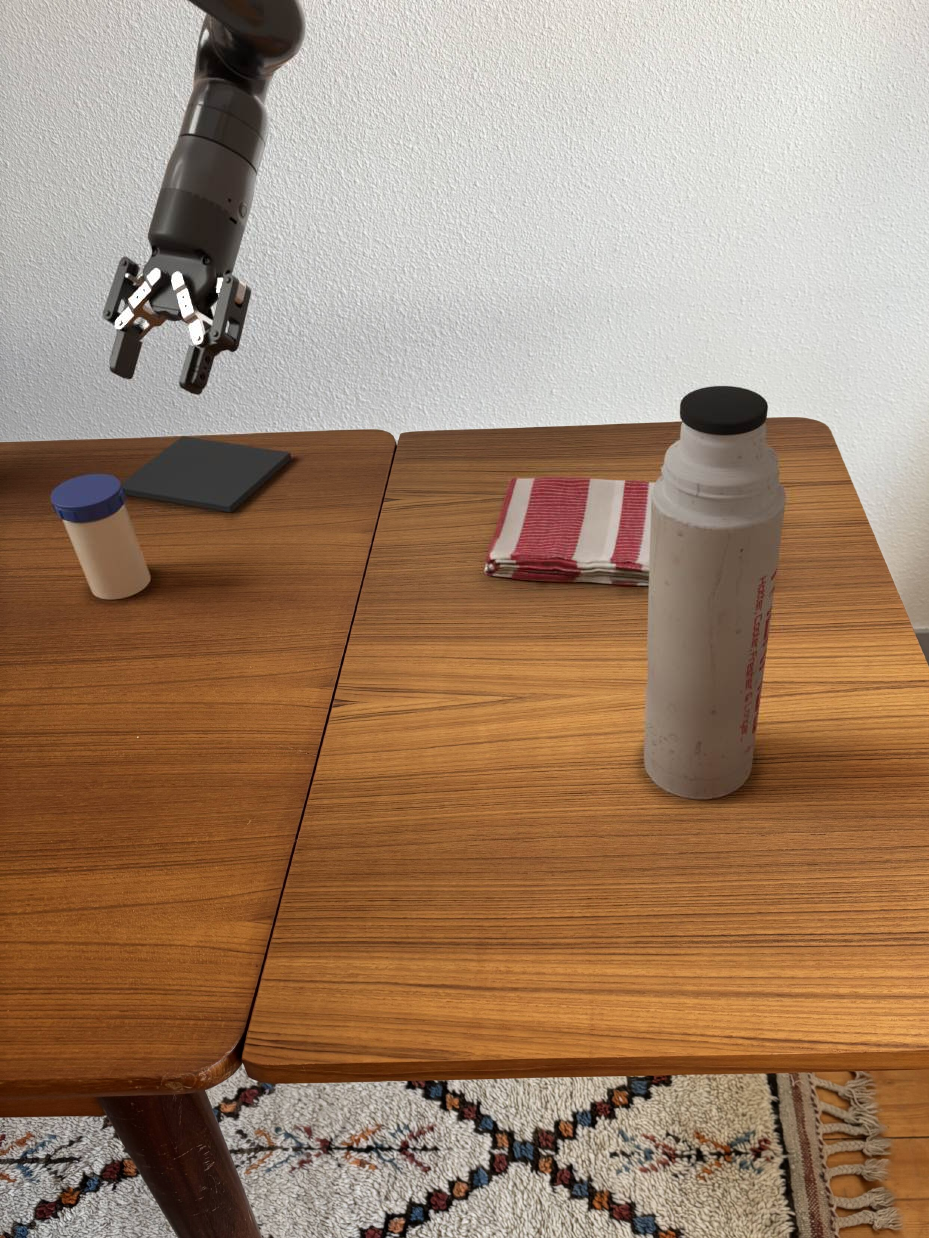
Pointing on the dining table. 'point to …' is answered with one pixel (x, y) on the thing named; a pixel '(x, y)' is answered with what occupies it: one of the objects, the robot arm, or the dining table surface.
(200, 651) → the dining table surface
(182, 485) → the mat
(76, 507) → the lid
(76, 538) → the jar
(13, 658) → the dining table surface
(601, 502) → the dish towel
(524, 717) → the dining table surface
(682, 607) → the thermos bottle
